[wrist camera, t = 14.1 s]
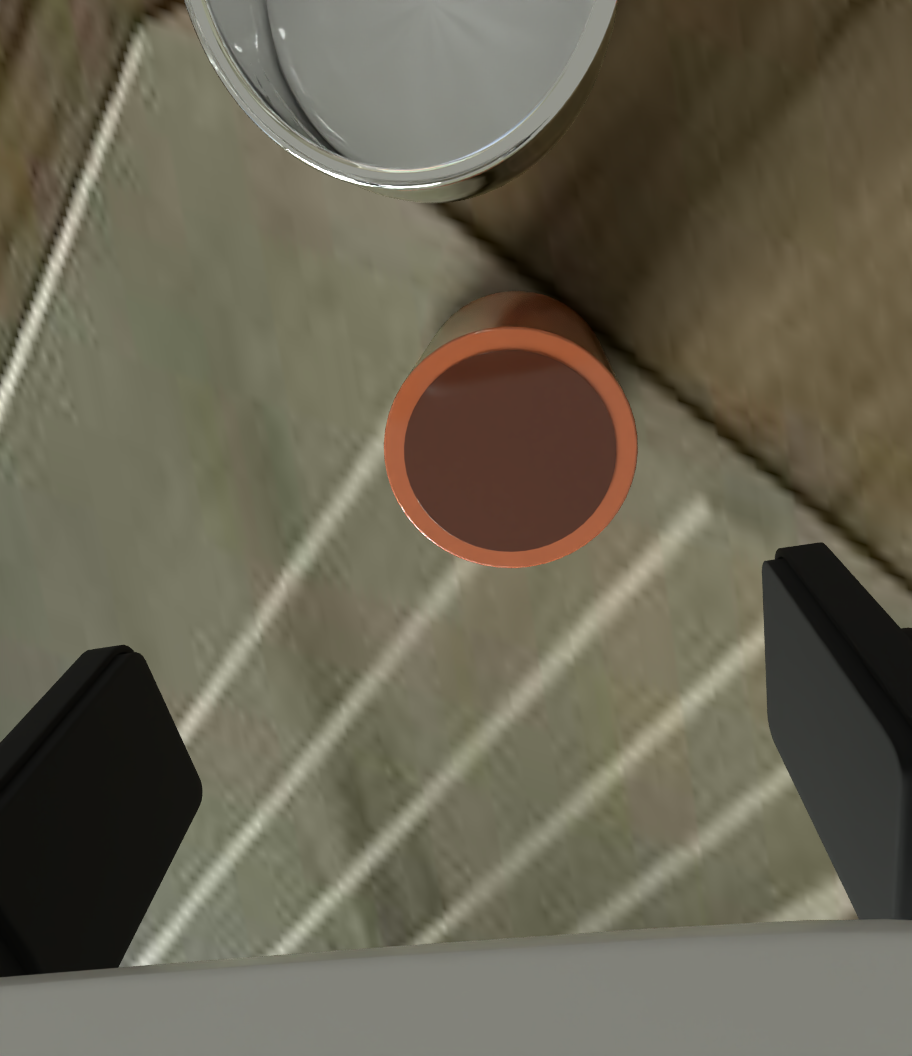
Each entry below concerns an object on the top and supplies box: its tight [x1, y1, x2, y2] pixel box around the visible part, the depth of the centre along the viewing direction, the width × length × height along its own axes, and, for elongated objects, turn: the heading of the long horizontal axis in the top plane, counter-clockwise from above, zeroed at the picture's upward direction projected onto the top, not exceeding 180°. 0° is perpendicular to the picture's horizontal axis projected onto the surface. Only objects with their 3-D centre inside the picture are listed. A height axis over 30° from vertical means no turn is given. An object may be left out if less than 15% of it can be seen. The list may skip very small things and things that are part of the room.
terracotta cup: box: [384, 291, 638, 568], centre depth 24 cm, size 7×7×8 cm
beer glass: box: [184, 0, 619, 203], centre depth 17 cm, size 7×7×15 cm
